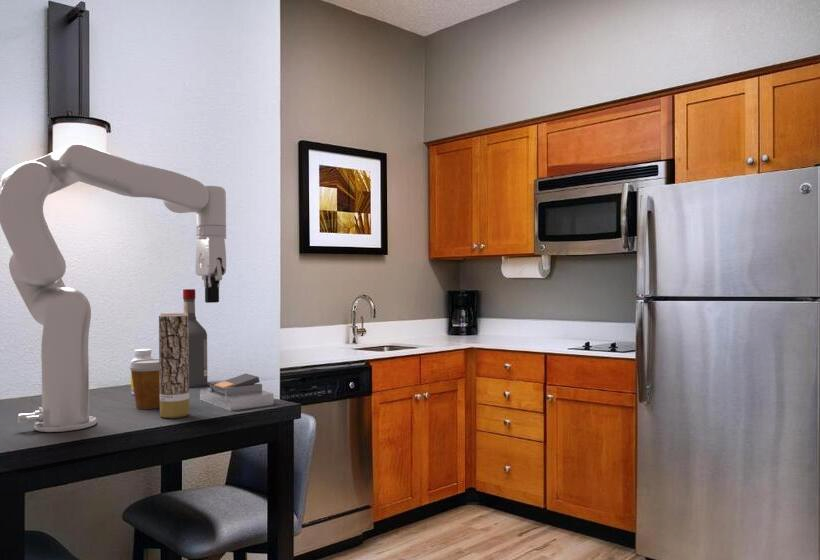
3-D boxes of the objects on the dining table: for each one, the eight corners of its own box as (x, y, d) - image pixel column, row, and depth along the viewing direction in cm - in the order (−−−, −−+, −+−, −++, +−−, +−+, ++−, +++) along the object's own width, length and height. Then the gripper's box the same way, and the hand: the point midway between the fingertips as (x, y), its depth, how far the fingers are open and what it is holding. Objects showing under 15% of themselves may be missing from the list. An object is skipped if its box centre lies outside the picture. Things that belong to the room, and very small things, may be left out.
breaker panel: (230, 410, 169) (230, 391, 168) (200, 399, 184) (199, 381, 184) (273, 404, 176) (273, 385, 176) (240, 394, 192) (240, 377, 192)
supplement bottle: (147, 391, 199) (146, 348, 199) (160, 393, 195) (160, 349, 195) (126, 394, 193) (125, 350, 193) (139, 396, 189) (139, 351, 189)
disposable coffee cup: (154, 402, 181) (154, 357, 181) (176, 405, 176) (175, 360, 176) (121, 407, 173) (121, 361, 173) (143, 412, 168) (142, 364, 168)
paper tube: (179, 419, 159) (178, 314, 158) (154, 418, 160) (153, 314, 160) (194, 413, 165) (193, 312, 165) (169, 412, 167) (168, 312, 166)
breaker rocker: (225, 394, 174) (223, 388, 174) (213, 390, 180) (211, 384, 180) (259, 382, 180) (258, 376, 180) (246, 378, 186) (245, 372, 186)
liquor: (181, 388, 202) (180, 289, 202) (170, 385, 209) (169, 289, 209) (210, 385, 208) (209, 289, 208) (198, 381, 215) (197, 288, 215)
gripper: (187, 234, 180) (187, 302, 180) (208, 231, 169) (209, 303, 169) (213, 235, 185) (214, 301, 185) (236, 232, 173) (237, 302, 173)
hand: (212, 302), depth 177 cm, fingers closed
